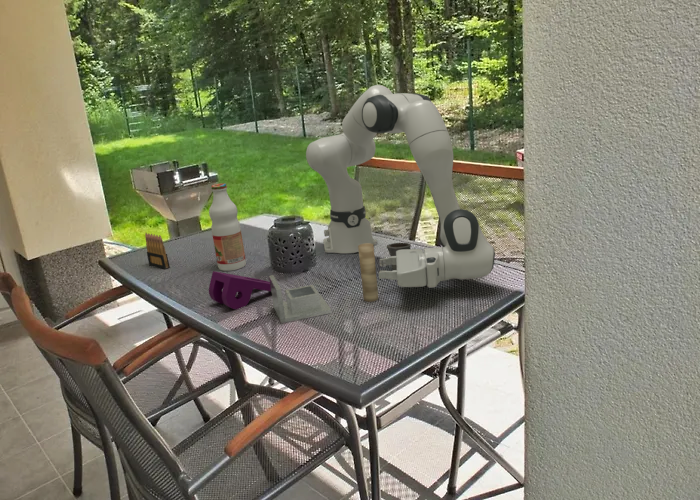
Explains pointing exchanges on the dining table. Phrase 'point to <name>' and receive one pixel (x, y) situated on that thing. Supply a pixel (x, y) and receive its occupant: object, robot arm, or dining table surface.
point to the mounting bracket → (234, 289)
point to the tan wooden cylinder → (368, 272)
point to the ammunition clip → (156, 251)
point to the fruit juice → (226, 230)
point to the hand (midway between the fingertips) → (379, 268)
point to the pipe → (395, 247)
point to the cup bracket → (297, 302)
